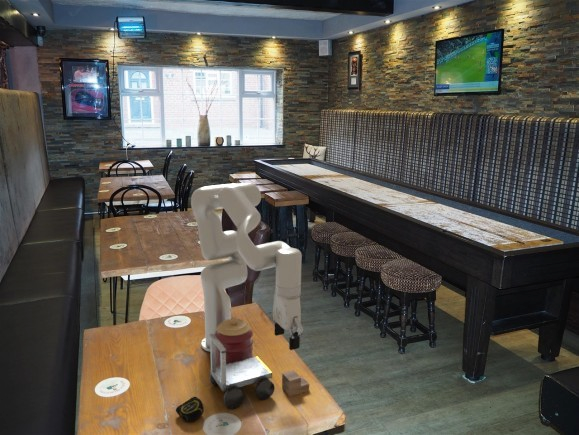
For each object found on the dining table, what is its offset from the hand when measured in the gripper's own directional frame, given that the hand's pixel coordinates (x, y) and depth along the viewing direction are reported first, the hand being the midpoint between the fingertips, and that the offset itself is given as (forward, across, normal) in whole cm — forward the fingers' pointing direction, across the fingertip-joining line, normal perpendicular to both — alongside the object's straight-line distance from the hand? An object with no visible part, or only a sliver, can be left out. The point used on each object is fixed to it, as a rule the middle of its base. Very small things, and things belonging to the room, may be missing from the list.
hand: (286, 341), depth 147 cm
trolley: (+17, -6, -13) cm, 22 cm away
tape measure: (+17, -4, -29) cm, 34 cm away
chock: (+17, +1, +3) cm, 18 cm away
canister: (+18, -22, -9) cm, 29 cm away
